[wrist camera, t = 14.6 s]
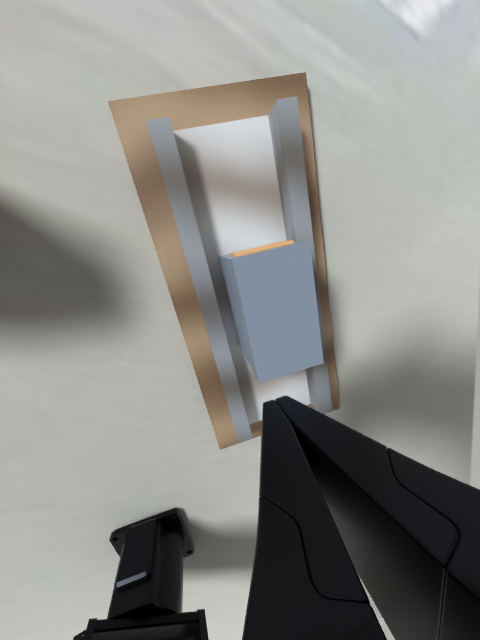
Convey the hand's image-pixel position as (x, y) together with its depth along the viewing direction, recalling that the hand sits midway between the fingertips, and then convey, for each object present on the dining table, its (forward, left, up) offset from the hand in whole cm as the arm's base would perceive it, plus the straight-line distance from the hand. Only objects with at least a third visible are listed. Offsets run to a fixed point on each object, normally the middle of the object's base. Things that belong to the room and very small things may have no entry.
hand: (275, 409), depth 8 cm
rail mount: (+1, -3, -12) cm, 12 cm away
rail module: (+1, -2, -11) cm, 11 cm away
